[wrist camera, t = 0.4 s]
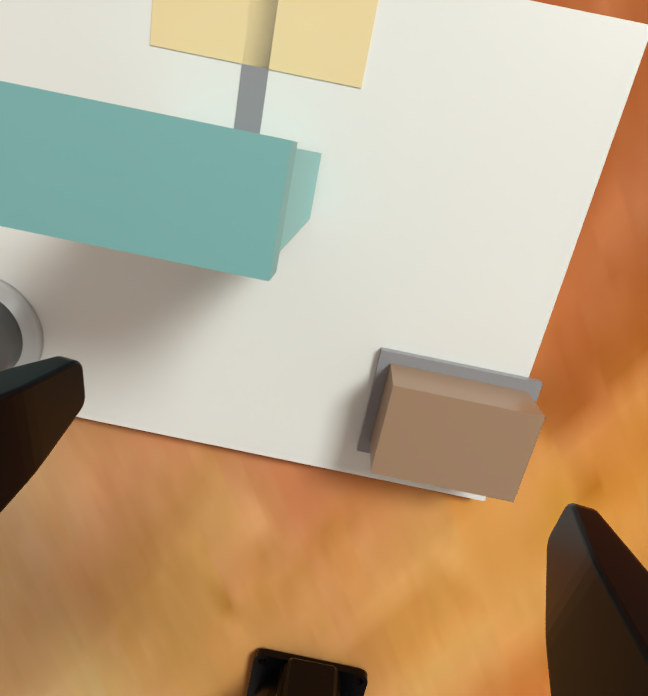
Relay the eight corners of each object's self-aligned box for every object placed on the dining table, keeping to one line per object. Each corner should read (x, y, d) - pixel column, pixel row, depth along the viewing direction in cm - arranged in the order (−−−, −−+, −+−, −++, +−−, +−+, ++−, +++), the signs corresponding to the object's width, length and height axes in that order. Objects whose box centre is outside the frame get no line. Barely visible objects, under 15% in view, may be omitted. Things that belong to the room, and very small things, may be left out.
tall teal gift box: (314, 223, 21) (269, 281, 11) (156, 191, 21) (-30, 219, 11) (327, 150, 20) (291, 140, 10) (163, 116, 20) (-35, 74, 10)
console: (491, 493, 26) (510, 543, 23) (-52, 381, 26) (-114, 414, 23) (655, 33, 19) (717, 6, 16) (-80, -117, 19) (-174, -176, 16)
